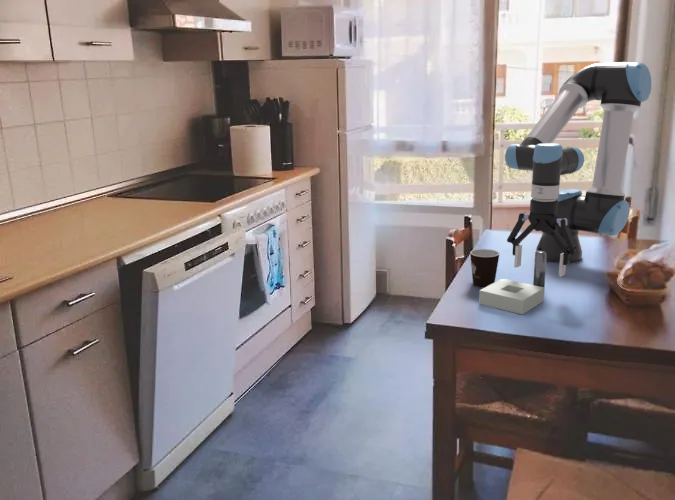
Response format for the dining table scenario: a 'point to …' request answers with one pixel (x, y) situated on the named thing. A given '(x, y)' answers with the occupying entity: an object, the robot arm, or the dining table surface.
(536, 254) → the peg
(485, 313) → the dining table surface
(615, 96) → the robot arm
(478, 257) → the coffee mug
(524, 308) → the hole block
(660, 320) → the dining table surface
